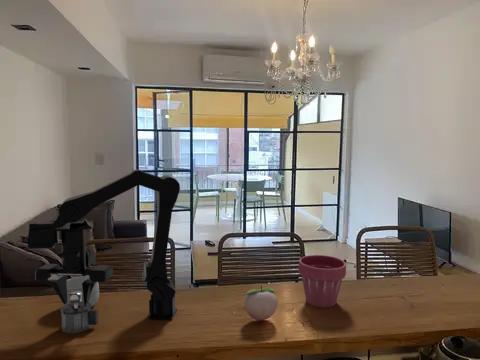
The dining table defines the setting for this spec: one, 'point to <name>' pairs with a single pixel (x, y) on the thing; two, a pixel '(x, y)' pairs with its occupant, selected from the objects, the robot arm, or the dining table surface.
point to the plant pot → (322, 279)
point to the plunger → (75, 298)
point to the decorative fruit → (260, 303)
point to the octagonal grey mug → (78, 317)
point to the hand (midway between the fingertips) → (75, 304)
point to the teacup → (81, 289)
